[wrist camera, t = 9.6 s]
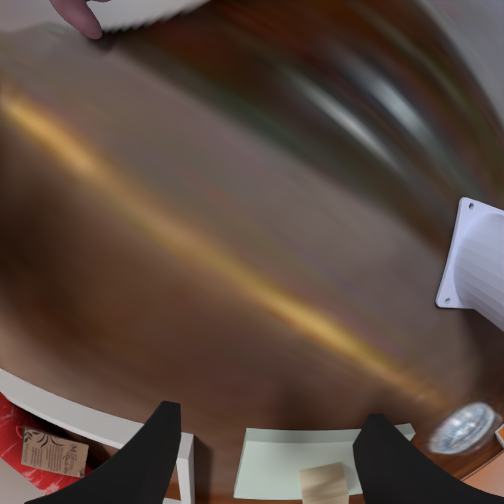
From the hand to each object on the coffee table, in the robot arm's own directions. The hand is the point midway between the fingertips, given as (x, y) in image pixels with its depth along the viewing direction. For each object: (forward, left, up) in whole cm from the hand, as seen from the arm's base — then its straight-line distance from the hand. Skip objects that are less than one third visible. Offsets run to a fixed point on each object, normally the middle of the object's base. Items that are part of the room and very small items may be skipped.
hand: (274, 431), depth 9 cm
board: (-8, +17, -9) cm, 21 cm away
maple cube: (-8, +17, -8) cm, 20 cm away
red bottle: (+20, +22, -9) cm, 31 cm away
